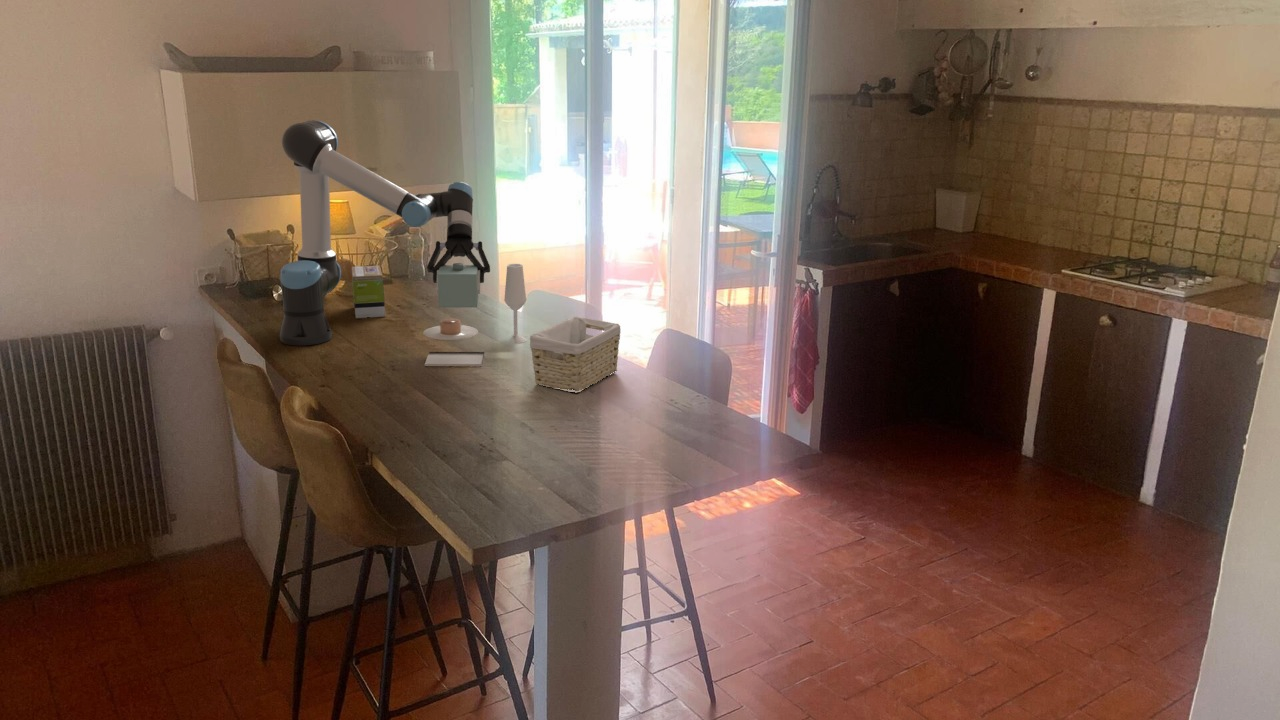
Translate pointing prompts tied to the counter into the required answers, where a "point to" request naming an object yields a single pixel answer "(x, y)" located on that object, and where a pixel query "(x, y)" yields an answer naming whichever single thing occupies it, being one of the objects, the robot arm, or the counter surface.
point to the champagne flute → (515, 294)
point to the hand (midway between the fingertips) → (458, 291)
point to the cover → (457, 286)
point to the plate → (450, 337)
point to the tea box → (368, 291)
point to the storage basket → (574, 353)
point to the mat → (454, 359)
